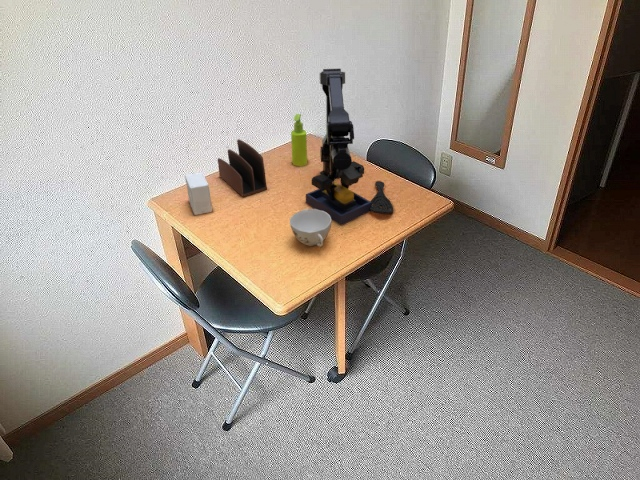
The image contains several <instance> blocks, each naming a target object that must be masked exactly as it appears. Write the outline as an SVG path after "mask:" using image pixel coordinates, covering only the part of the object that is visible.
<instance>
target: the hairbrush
mask: <svg viewBox="0 0 640 480" xmlns="http://www.w3.org/2000/svg"><path fill="white" fill-rule="evenodd" d="M374 185H375V187H376V189H377V192H376V193H375V195H374V196H373V197H372V199H371V200H369V201H370V202H372V205H371V208H370V212H372V213H375V214H384V215H391V214H393V213H394V205H393V203H392V200H391V198H389V197H388V196H387V195H386V194H385V191H384V188H385V182H384V181H381V180H377V181H375V182H374Z"/></svg>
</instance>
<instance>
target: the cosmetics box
mask: <svg viewBox="0 0 640 480" xmlns="http://www.w3.org/2000/svg"><path fill="white" fill-rule="evenodd" d="M184 180H185V184H186V190H187V196H188V202H189V205H190V207H191V210H192V213H193V215H194V216H197V215H203V214H208V213H211V212H213V206H212V205H213V204H212V198H211V197H212V196H211V192H210V185H209V183H208V180H207V178H206V177H205V175H204V173H203V171H200V172H195V173H188V174H184Z"/></svg>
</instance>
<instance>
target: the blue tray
mask: <svg viewBox="0 0 640 480" xmlns="http://www.w3.org/2000/svg"><path fill="white" fill-rule="evenodd" d="M322 191H323V190H320V189H318V188H316V189H314V190H313V191H310V192H307V193H305V203H306V204H307V205H309V206H310V207H312V209H317V210H321V211H324V212H326V213H328V214H329V215H330V217H331V221H333V222H335V223H336V224H338V225H339V226H343V225H344V224H347V223H349V222H351V221H353V220H355V219H358V218H359V217H362V216H364V215H366V214H368V213H370V212H371V211H370V208H371V205H373V204H372V202H370V201H371V200H369V199H367V198H365V197H363V196H361V195H360V194H358V193H356V192H354V200H356V205H355V206H353V207H351V208H348V209H346V210H343V209H342V208H340V207H338V206H337V205H335V204H333V203H332V202H330V201H328V200H327V199H325V198H323V197H322Z"/></svg>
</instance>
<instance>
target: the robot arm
mask: <svg viewBox="0 0 640 480" xmlns="http://www.w3.org/2000/svg"><path fill="white" fill-rule="evenodd" d="M318 78H319V84H320V85H321V89H322V91H323V93H324V94H325V109H326V110H325V118H326V119H325V130H326V131H325V136H324V137H323V139H322V140H321V146H320V148H319V159H320V163H322V171H320V172H319V174H317V175H315V176H312V178H311V185H312V186H313V187H314V188H316V189H320V190H323V191H324V190H326V191H327V193H328V195H329V197H330V199H331V200H332V201H334V189H335V188H336V187H337V186H336V185H335V184H334V181H335V182H336V180H340V185H342V186H344V187H345V188H347V189H350V187H351V186H353V185H355V184H358V183H359V181H360V179H361V178H363V177H364V175H365V167H364V165H363V164H361V163H358V162H356V161H355V160H353V159H352V155H351V151H350V149H349V145H353V144H354V140H355V133H354V132H355V128H354V124H353V122H352V120H350V114H349V112H348V111H346V109H345V105H344V95H343V88H344V85H345V84H346V72H345V71H342V68H323V69H322V71H321V72H319V77H318ZM348 136H349V137H348Z"/></svg>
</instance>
